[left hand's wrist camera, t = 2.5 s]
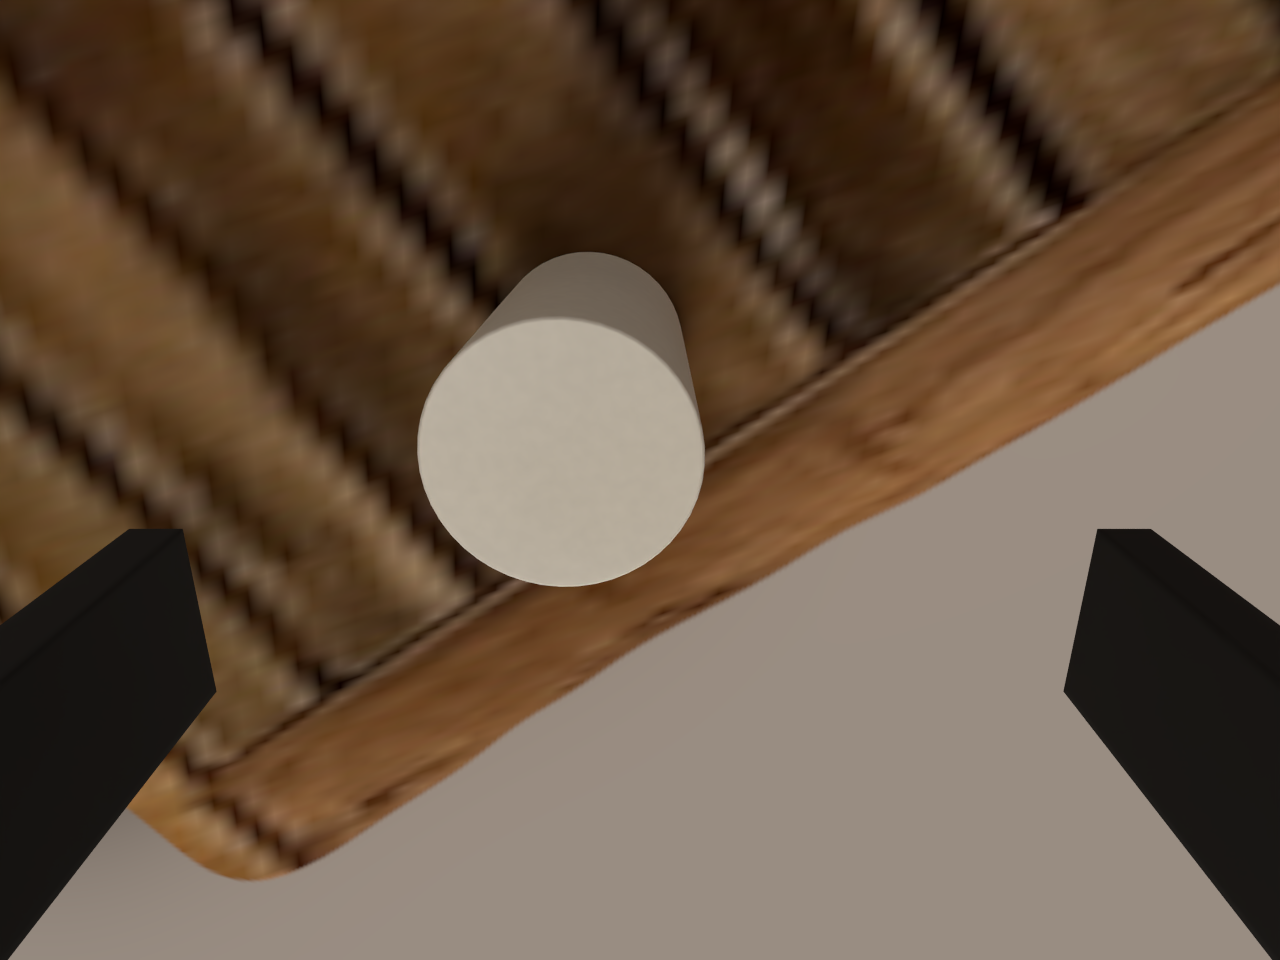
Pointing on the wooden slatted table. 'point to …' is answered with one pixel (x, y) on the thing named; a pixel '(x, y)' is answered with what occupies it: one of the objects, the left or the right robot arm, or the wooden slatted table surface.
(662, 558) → the wooden slatted table surface
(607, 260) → the canister
